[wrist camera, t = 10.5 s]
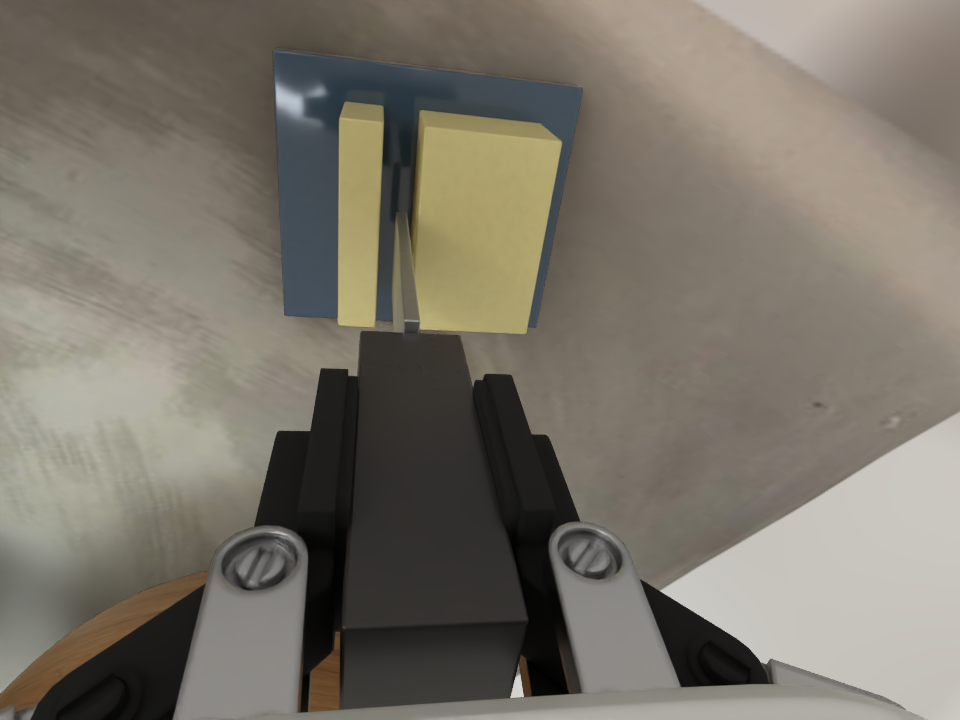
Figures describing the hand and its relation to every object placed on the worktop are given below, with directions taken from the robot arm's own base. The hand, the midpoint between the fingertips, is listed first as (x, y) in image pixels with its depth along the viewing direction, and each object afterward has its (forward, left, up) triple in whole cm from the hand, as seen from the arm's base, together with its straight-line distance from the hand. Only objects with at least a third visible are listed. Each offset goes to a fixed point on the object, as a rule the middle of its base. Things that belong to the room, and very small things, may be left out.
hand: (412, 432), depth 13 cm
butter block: (0, +3, -15) cm, 16 cm away
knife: (0, 0, -12) cm, 12 cm away
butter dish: (0, +1, -16) cm, 16 cm away
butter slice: (0, -2, -15) cm, 15 cm away
